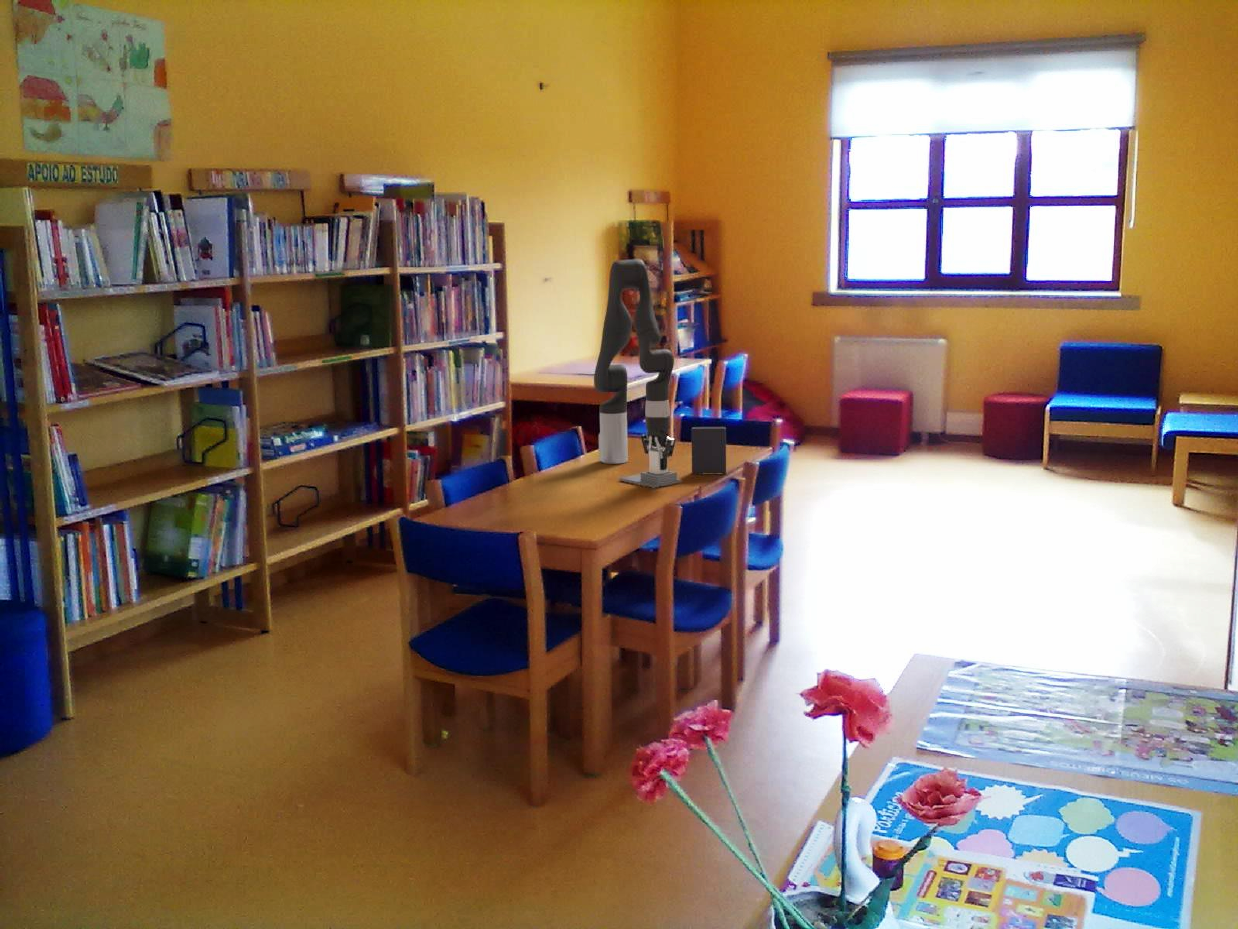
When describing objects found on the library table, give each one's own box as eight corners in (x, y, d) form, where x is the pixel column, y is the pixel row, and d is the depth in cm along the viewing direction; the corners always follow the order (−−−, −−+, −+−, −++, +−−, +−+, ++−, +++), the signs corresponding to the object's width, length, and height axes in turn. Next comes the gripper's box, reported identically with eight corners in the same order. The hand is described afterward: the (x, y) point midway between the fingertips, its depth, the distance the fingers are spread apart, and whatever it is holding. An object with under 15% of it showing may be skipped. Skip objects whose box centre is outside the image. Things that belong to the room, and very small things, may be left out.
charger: (649, 472, 374) (649, 448, 372) (659, 470, 376) (658, 446, 375) (658, 474, 371) (657, 449, 369) (667, 472, 373) (667, 448, 372)
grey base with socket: (619, 481, 379) (618, 470, 378) (647, 475, 387) (647, 464, 386) (653, 488, 367) (652, 477, 366) (681, 482, 375) (681, 471, 374)
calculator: (726, 471, 389) (725, 426, 387) (726, 474, 385) (725, 428, 382) (692, 472, 391) (691, 426, 388) (691, 474, 386) (691, 428, 383)
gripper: (633, 413, 373) (634, 467, 376) (664, 418, 362) (665, 473, 365) (651, 410, 378) (652, 464, 381) (682, 415, 367) (683, 470, 370)
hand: (658, 468), depth 373 cm, fingers closed on charger, 4 cm apart
